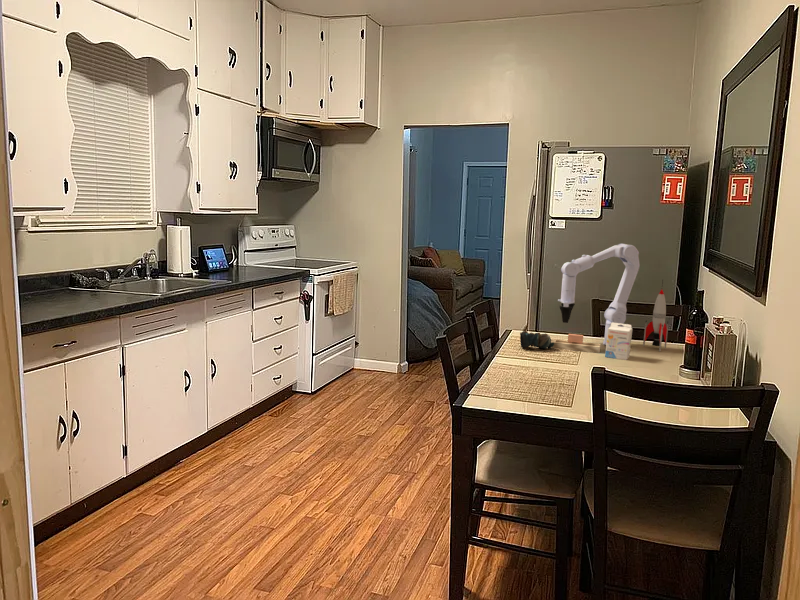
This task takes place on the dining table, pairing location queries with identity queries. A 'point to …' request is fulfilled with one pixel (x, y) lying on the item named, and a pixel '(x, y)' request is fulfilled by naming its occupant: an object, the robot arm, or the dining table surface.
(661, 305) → the toy
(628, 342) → the ink box
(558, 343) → the rail
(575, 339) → the tall salmon pink block
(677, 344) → the dining table surface
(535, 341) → the figurine
